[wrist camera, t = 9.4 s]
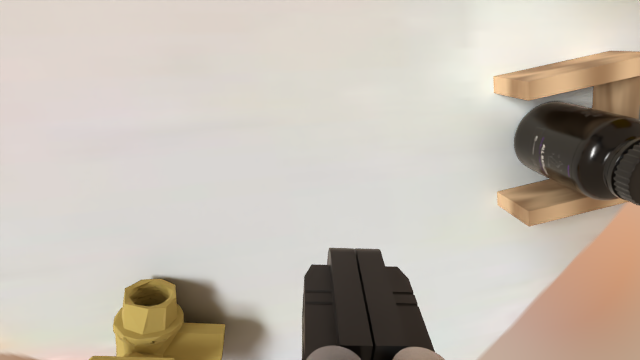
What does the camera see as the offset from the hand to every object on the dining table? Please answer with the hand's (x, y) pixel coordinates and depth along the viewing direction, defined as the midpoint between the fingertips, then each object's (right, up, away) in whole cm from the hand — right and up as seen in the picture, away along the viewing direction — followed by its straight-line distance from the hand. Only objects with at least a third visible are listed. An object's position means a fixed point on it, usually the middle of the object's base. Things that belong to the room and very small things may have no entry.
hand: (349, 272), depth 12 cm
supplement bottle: (+21, +7, +27) cm, 35 cm away
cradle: (+21, +7, +27) cm, 35 cm away
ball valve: (-16, -12, +28) cm, 35 cm away
